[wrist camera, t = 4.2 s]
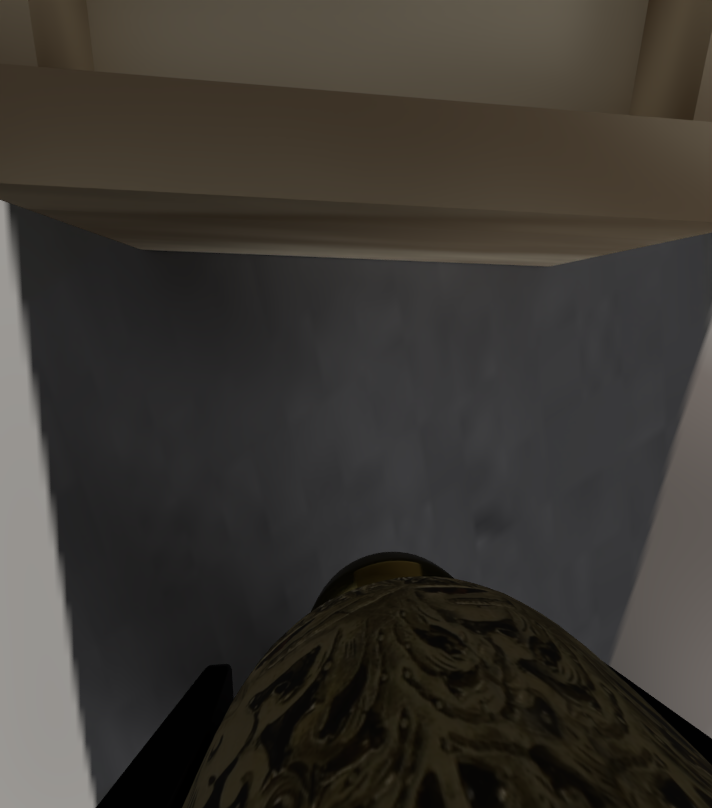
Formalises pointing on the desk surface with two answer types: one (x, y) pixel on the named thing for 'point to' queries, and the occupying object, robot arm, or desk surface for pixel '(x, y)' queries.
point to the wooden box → (362, 125)
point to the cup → (439, 709)
